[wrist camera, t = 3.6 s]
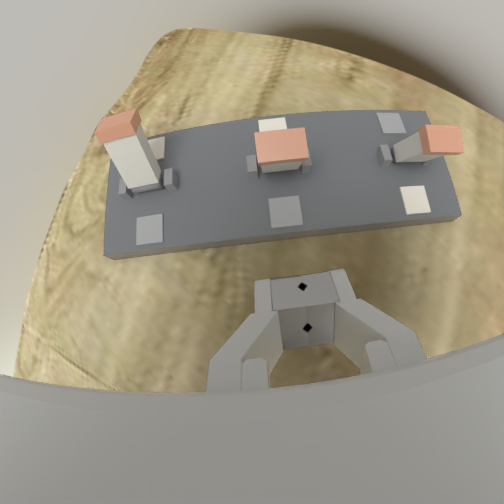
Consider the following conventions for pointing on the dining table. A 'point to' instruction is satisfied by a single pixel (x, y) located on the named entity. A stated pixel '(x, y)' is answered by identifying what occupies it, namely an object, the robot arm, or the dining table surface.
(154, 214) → the switch panel
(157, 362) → the dining table surface
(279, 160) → the middle lever
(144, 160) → the lever
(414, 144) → the lever
